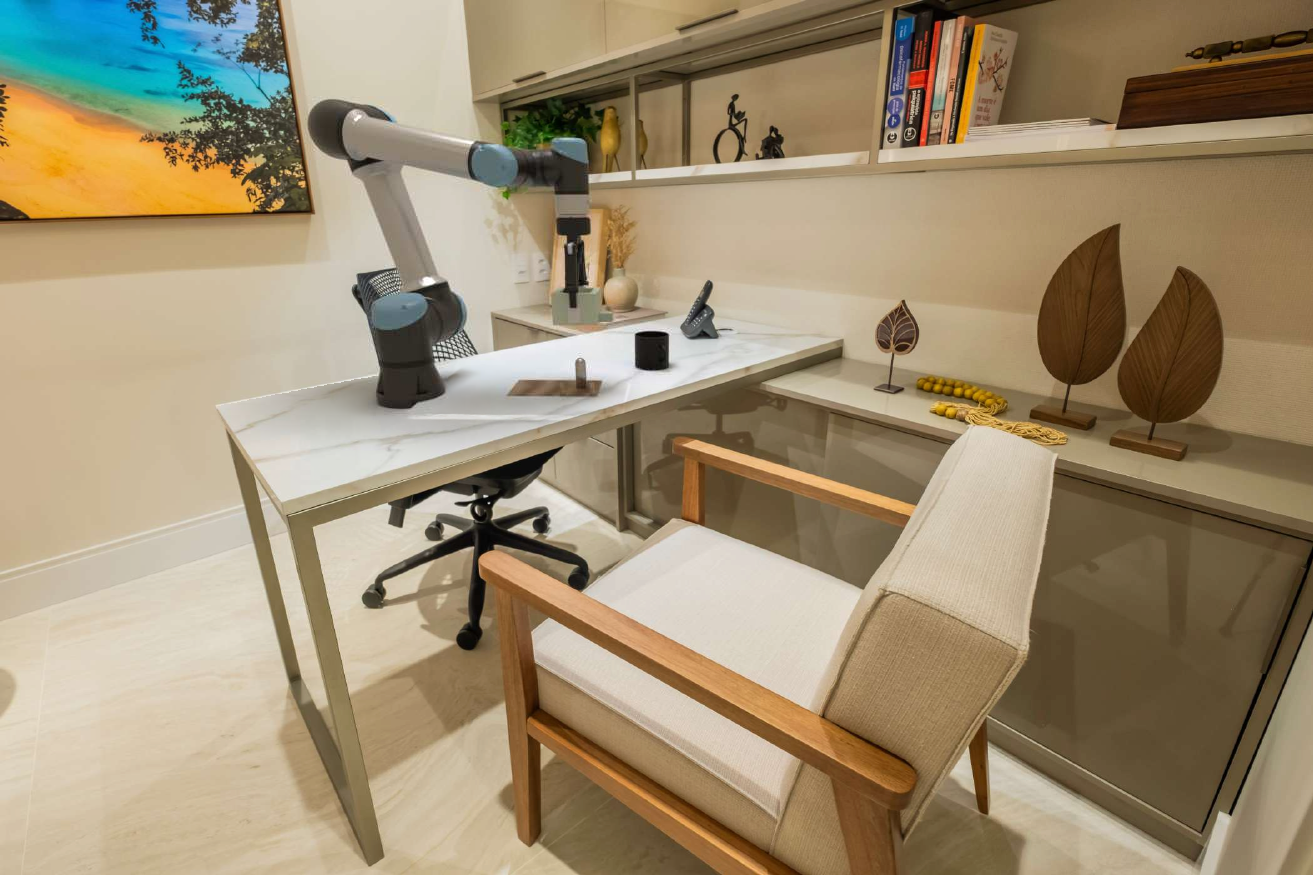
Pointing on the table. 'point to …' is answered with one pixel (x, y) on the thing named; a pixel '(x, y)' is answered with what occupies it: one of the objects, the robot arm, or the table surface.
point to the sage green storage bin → (588, 307)
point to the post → (580, 373)
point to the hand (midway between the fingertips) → (578, 318)
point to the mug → (651, 350)
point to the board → (555, 388)
